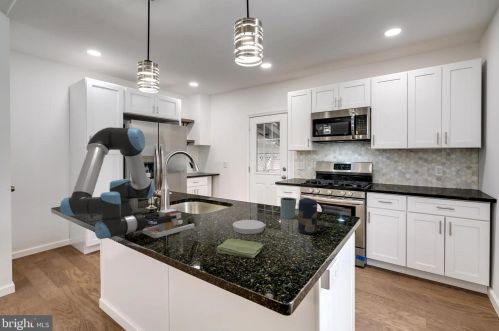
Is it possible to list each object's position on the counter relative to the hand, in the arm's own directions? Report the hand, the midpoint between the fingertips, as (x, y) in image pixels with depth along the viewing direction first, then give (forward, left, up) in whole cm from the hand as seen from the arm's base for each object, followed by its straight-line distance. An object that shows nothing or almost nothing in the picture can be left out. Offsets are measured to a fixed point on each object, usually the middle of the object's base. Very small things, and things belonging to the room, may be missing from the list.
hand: (177, 214), depth 131 cm
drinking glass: (+33, +60, -8) cm, 69 cm away
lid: (+30, +26, -8) cm, 41 cm away
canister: (+56, +41, -8) cm, 70 cm away
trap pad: (0, -13, -8) cm, 15 cm away
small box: (0, -5, -8) cm, 9 cm away
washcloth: (+46, 0, -8) cm, 47 cm away
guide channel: (0, -5, -7) cm, 9 cm away
